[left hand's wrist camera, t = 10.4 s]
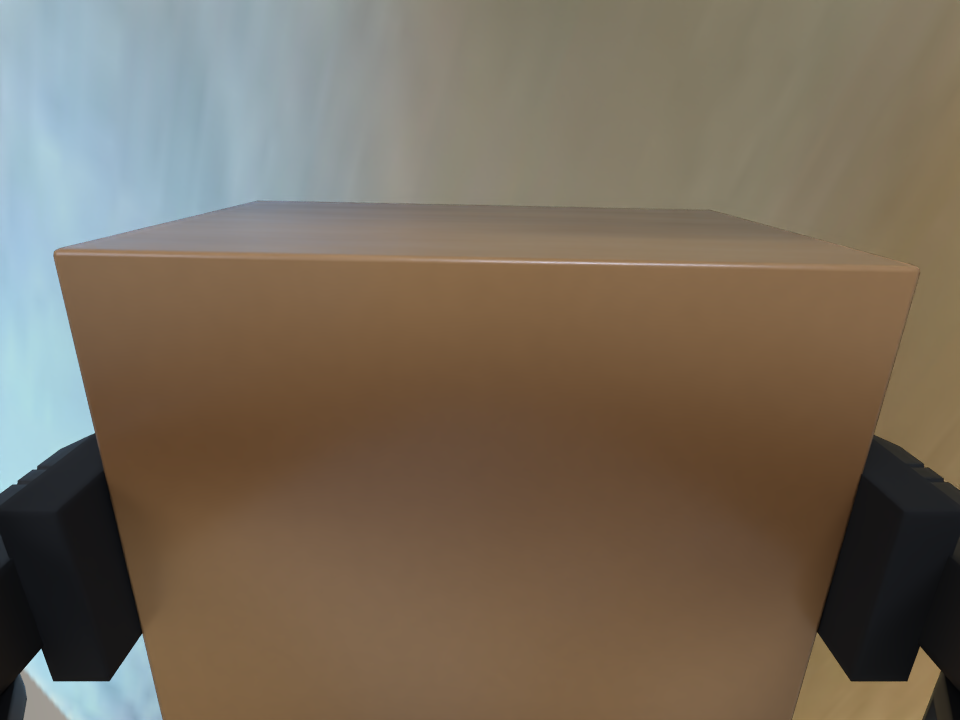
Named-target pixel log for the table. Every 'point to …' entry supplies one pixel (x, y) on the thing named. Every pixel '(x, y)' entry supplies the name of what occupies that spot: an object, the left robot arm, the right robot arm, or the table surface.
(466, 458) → the thick board
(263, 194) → the table surface
